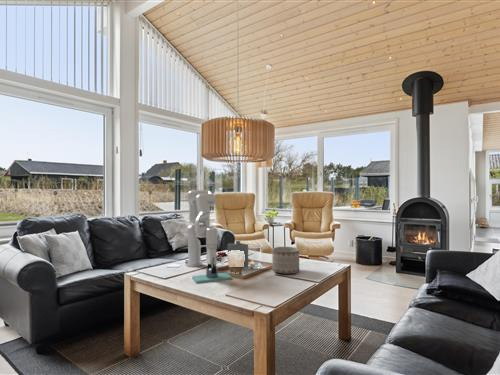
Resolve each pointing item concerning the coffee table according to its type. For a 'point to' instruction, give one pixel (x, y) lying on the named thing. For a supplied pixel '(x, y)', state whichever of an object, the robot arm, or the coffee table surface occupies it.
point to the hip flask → (242, 248)
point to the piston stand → (204, 279)
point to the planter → (285, 260)
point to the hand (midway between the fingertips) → (211, 271)
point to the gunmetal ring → (209, 274)
